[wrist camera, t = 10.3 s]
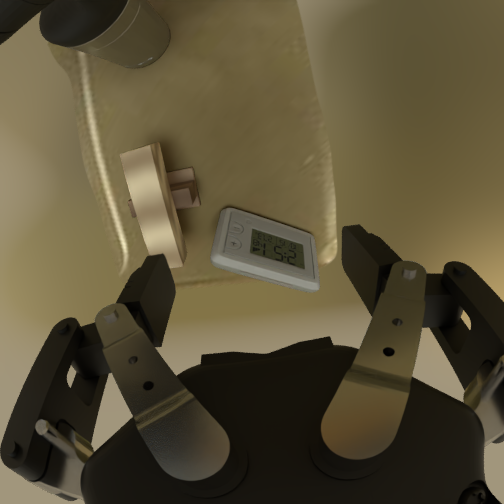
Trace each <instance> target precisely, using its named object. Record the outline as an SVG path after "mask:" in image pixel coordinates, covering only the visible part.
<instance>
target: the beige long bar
mask: <svg viewBox="0 0 504 504" xmlns="http://www.w3.org/2000/svg"><path fill="white" fill-rule="evenodd" d="M120 158H121V162H122V166H123V169H124V173H125V177H126V181H127V184H128V188H129V192H130V195H131V198H132V202H133V205H134V209H135V212H136V215H137V218H138V221H139V225H140V228H141V231H142V234H143V237H144V240H145V243H146V246H147V248H148V251H149V254H150V255H156V254H162V253H163V254H164V255H165V257H166V259H167V262H168V265H169V268H176V267H182V266H183V265H184V262H185V259H186V256H187V248H186V245H185V241H184V238H183V234H182V231H181V227H180V224H179V220H178V216H177V213H176V209H175V205H174V201H173V198H172V194H171V190H170V186H169V182H168V178H167V174H166V169H165V165H164V161H163V157H162V152H161V148H160V143H159V142H157V143H154V144H150V145H147V146H143V147H140V148H137V149H133V150H130V151H128V152H125V153H122V154H120Z"/></svg>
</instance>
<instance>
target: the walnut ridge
mask: <svg viewBox="0 0 504 504" xmlns="http://www.w3.org/2000/svg"><path fill="white" fill-rule="evenodd" d="M166 174H167V178H168V182H169V186H170V190H171V194H172V198H173V201H174V205H175V209H176V210H181V209H186V208H191V207H197V206H200V205H201V203H200V199H199V194H198V190H197V185H196V180H195V176H194V171H193V167H190V168H185V169H181V170H176V171H172V172H167V173H166ZM128 204H129V207H130V211H131V214H132V217H137V215H136V212H135V209H134V205H133V202H132V198H131V199H130V200H129V201H128Z"/></svg>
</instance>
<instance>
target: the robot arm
mask: <svg viewBox="0 0 504 504" xmlns="http://www.w3.org/2000/svg"><path fill="white" fill-rule="evenodd" d="M41 10H42V11H41ZM40 11H41V15H40V21H39V24H40V31H41V34H42V36H43V37H44V38H45V39H46V40H47V41H49V42H51V43H53V44H56V45H60V46H64V47H67V48H71V49H74V50H78V51H81V52H84V53H88V54H91V55H94V56H97V57H100V58H103V59H105V60H108V61H111V62H114V63H117V64H119V65H122V66H124V67H128V68H140V67H144V66H147V65H149V64H151V63H153V62H154V61H156V60H157V59H158V58H159V57H160V56H161V55H162V54H163V53H164V52H165V50H166V48H167V46H168V44H169V41H170V31H169V28H168V26H167V24H166V23H165V22H164V21H163V19H162V18H161V17H160V16H159V14H158V13H157V12H156V11H155V10H154V8H153V7H152V6H151V5H150V4H149V2H148V1H147V0H0V45H1V44H2V43H3V42H4V41H6V40H7V39H9V38H10V37H11V36H12V35H13V34H14V33H15V32H16V31H18V30H19V29H20V28H21V27H22V26H23V25H25V24H26V23H27V22H28V21H29V20H30V19H32V18H33V17H34V16H35V15H36V14H38V13H39V12H40ZM342 265H343V268H344V271H345V273H346V274H347V276H348V277H349V279H350V281H351V282H352V284H353V285H354V287H355V289H356V291H357V292H358V294H359V295H360V297H361V299H362V301H363V302H364V304H365V306H366V307H367V309H368V311H369V313H370V314H371V316H372V319H371V322H370V324H369V327H368V329H367V332H366V334H365V336H364V339H363V341H362V344H361V346H360V348H359V349H357V348H353V347H348V346H341V345H333V343H332V340H331V338H330V337H324V338H319V339H314V340H308V341H303V342H298V343H296V344H293V345H290V346H288V347H285V348H282V349H279V350H276V351H274V352H271V353H267V354H258V353H243V352H224V353H214V354H203V355H202V356H201V364H200V365H196V366H194V367H191V368H189V369H187V370H185V371H183V372H182V373H180V374H178V375H177V376H176V375H175V374H174V373H173V371H172V370H171V369H170V367H169V366H168V365H167V363H166V362H165V361H164V360H163V358H162V357H161V355H160V354H159V353H158V351H157V350H156V348H155V347H161V346H162V342H163V338H164V334H165V330H166V327H167V323H168V320H169V316H170V312H171V309H172V305H173V302H174V298H175V293H176V290H175V284H174V280H173V277H172V274H171V271H170V268H169V265H168V262H167V259H166V257H165V255H164V254H163V253H162V254H156V255H150V256H147V257H146V259H145V261H144V263H143V264H142V266H141V268H138V269H137V270H136V271H135V272H134V273H132V274H131V276H130V278H129V280H128V283H126V285H125V288H124V289H123V291H122V292H121V294H120V296H119V298H118V300H117V302H116V303H115V304H111V305H108V306H106V307H104V308H103V309H102V310H100V311H99V312H98V314H97V315H96V317H95V322H94V323H92V324H88V325H85V326H82V327H81V326H80V324H79V323H78V321H77V319H75V318H66V319H63V320H61V321H60V322H59V323H57V324H56V325H55V326H54V327H53V329H52V331H51V332H50V334H49V336H48V338H47V340H46V341H45V343H44V345H43V347H42V349H41V351H40V353H39V355H38V356H37V358H36V360H35V362H34V364H33V366H32V368H31V370H30V373H29V375H28V377H27V379H26V381H25V383H24V385H23V388H22V390H21V392H20V395H19V397H18V399H17V402H16V404H15V407H14V409H13V412H12V414H11V417H10V420H9V422H8V425H7V428H6V431H5V434H4V437H3V440H2V443H1V448H0V454H1V459H2V461H3V463H4V464H5V465H6V466H7V467H8V468H10V469H11V470H13V471H14V472H16V473H17V474H19V475H21V476H22V477H23V478H24V479H26V480H27V481H29V482H30V483H32V484H34V485H36V486H37V487H39V488H41V489H43V490H45V491H47V492H49V493H51V494H55V495H57V496H59V497H61V498H63V499H65V500H68V501H74V500H77V499H81V500H84V502H85V504H502V503H500V502H499V501H498V500H497V499H496V498H495V496H494V495H493V494H492V493H491V492H490V490H489V489H488V487H487V484H486V481H485V474H484V447H485V446H486V445H488V444H490V443H491V442H492V443H501V442H503V441H504V302H503V301H502V300H501V299H500V297H499V296H498V295H497V294H496V293H495V292H494V291H493V290H492V289H491V288H490V287H489V286H488V285H487V284H486V283H485V281H484V280H483V279H482V278H480V276H479V275H478V274H477V273H476V272H475V271H474V270H473V269H472V268H471V267H469V266H468V265H466V264H464V263H461V262H456V261H452V262H448V263H446V264H445V266H444V270H443V273H442V274H427V272H426V270H425V268H424V267H423V266H422V265H420V264H418V263H416V262H413V261H403V260H402V259H401V258H400V257H399V256H398V255H397V254H396V253H395V252H394V251H393V250H392V249H390V247H389V246H388V245H387V244H386V243H385V242H384V241H383V240H382V239H381V238H380V237H378V236H376V235H374V234H372V233H367V232H366V230H365V229H364V228H363V227H362V226H360V225H359V224H358V225H351V226H344V227H343V229H342ZM463 310H464V311H465V312H466V313H467V315H468V316H469V318H470V320H471V330H469V329H468V327H467V326H466V324H465V323H464V322H463V320H462V319H461V315H462V312H463ZM427 327H429V328H430V330H431V331H432V333H433V335H434V336H435V338H436V339H437V341H438V343H439V345H440V346H441V348H442V350H443V351H444V353H445V355H446V357H447V358H448V360H449V362H450V364H451V365H452V367H453V369H454V371H455V373H456V375H457V376H458V378H459V381H460V382H461V384H462V386H463V388H464V390H465V392H464V398H463V400H464V403H463V402H461V401H459V400H457V399H455V398H453V397H451V396H449V395H447V394H445V393H443V392H441V391H439V390H437V389H435V388H433V387H431V386H429V385H427V384H425V383H423V382H421V381H419V380H418V379H416V378H414V377H412V374H413V370H414V366H415V362H416V357H417V352H418V347H419V342H420V337H421V331H422V328H427ZM71 365H72V367H73V368H74V369H75V370H76V372H77V373H76V375H75V378H74V381H73V383H72V386H71V388H70V387H69V385H68V383H67V373H68V371H69V368H70V366H71ZM109 373H112V374H113V377H114V379H115V381H116V383H117V385H118V387H119V389H120V391H121V394H122V396H123V398H124V400H125V402H126V404H127V405H128V407H129V409H130V411H131V413H132V415H133V417H132V418H131V419H130V420H129V421H128V422H127V423H126V424H125V425H124V426H122V427H121V428H120V429H119V430H118V431H117V432H116V433H115V434H114V435H113V436H112V437H111V438H109V439H108V440H107V441H106V442H105V443H104V444H103V445H102V446H101V447H99V448H98V449H97V450H96V451H95V452H94V450H93V447H92V445H91V442H92V437H93V432H94V428H95V424H96V419H97V415H98V411H99V407H100V403H101V400H102V396H103V392H104V389H105V385H106V381H107V378H108V374H109Z"/></svg>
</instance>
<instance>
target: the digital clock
mask: <svg viewBox="0 0 504 504" xmlns="http://www.w3.org/2000/svg"><path fill="white" fill-rule="evenodd" d="M210 259H211V263H212V264H213V265H214V266H215V267H217V268H220V269H223V270H227V271H230V272H233V273H237V274H240V275H244V276H248V277H251V278H255V279H258V280H262V281H266V282H269V283H273V284H277V285H281V286H284V287H289V288H292V289H296V290H300V291H304V292H316V291H318V290H319V288H320V280H319V271H318V262H317V254H316V246H315V240H314V237H313V235H311V234H309V233H307V232H304V231H301V230H298V229H295V228H293V227H290V226H287V225H284V224H281V223H278V222H275V221H272V220H269V219H266V218H263V217H259V216H256V215H253V214H250V213H247V212H244V211H241V210H237V209H234V208H226V209H223V210H222V211H221V213H220V217H219V221H218V225H217V230H216V234H215V238H214V242H213V246H212V251H211V257H210Z"/></svg>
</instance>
